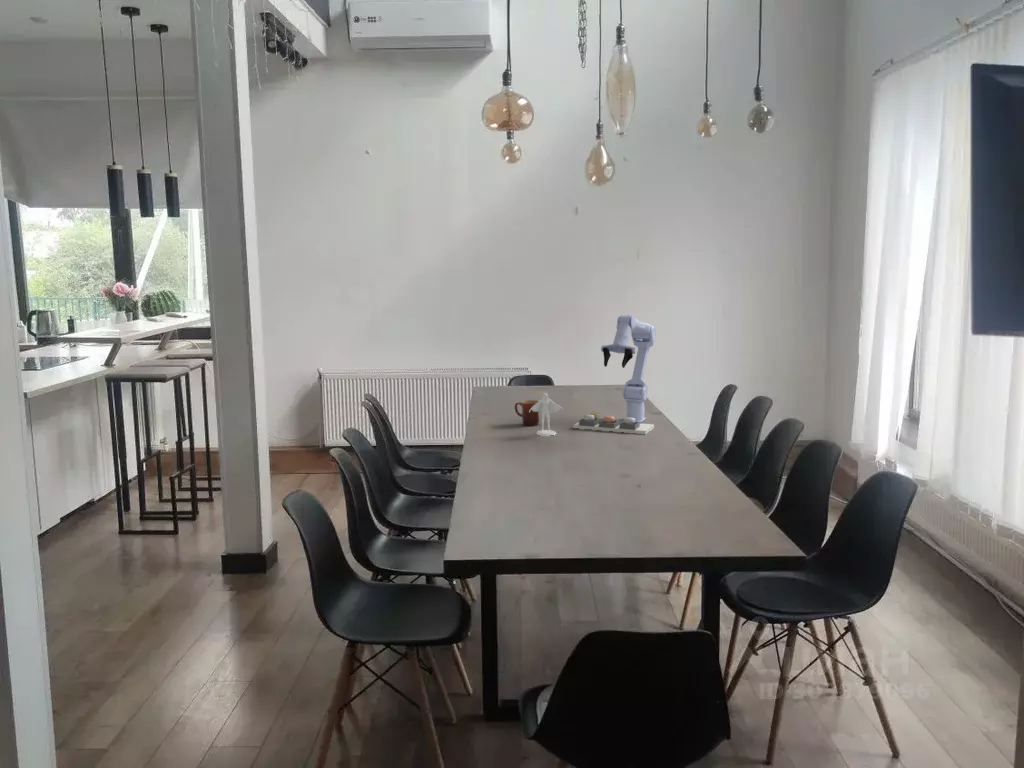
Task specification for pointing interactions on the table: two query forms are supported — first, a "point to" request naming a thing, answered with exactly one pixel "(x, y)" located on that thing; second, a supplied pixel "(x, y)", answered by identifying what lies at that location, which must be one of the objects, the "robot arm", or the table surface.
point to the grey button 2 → (629, 420)
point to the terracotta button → (609, 419)
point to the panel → (614, 426)
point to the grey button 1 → (589, 417)
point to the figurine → (546, 408)
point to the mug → (527, 417)
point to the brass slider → (595, 414)
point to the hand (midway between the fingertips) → (613, 365)
